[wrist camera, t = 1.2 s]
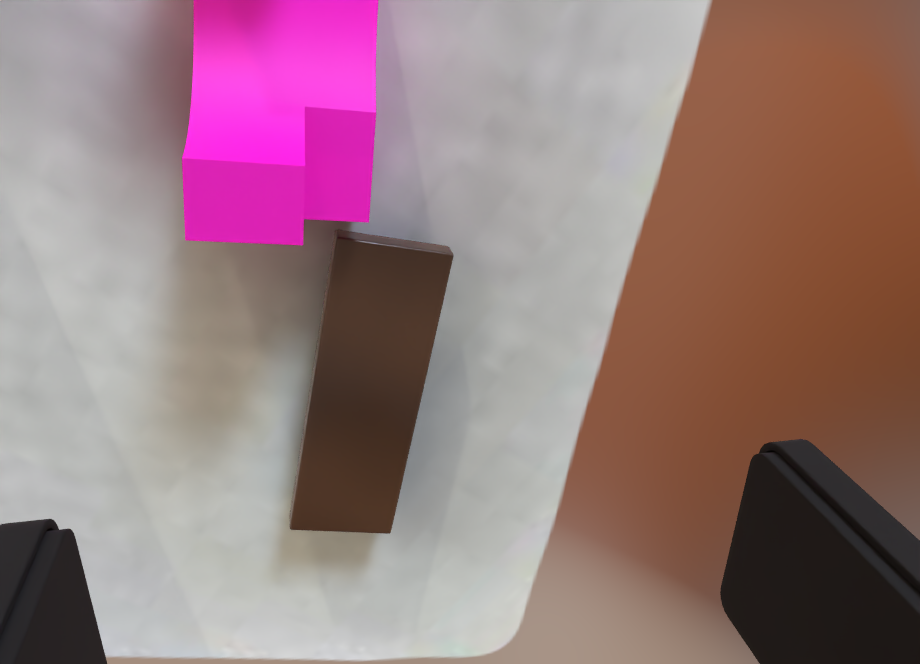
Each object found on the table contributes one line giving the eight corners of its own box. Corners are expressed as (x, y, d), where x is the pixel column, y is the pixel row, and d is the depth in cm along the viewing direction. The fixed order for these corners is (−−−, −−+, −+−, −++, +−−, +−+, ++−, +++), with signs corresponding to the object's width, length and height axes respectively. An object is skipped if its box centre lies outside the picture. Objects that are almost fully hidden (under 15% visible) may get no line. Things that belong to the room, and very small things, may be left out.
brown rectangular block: (333, 218, 33) (336, 237, 30) (443, 235, 34) (454, 254, 32) (289, 497, 38) (289, 530, 36) (384, 501, 40) (390, 534, 38)
